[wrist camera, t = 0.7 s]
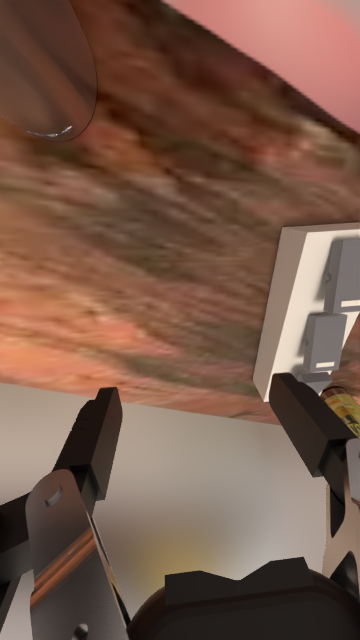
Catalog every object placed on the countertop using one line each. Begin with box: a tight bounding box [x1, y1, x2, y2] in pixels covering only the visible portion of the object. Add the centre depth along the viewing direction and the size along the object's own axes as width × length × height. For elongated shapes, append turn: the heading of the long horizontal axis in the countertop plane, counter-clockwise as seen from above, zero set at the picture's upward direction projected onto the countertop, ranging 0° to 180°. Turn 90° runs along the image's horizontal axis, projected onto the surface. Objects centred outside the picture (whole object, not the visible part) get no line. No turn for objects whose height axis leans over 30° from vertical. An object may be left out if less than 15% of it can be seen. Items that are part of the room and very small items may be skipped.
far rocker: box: [297, 372, 333, 394], centre depth 31 cm, size 8×4×2 cm, turn 2°
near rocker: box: [323, 239, 360, 313], centre depth 22 cm, size 8×4×2 cm, turn 3°
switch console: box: [253, 222, 360, 402], centre depth 30 cm, size 27×10×5 cm, turn 3°
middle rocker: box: [303, 313, 348, 373], centre depth 26 cm, size 8×4×2 cm, turn 3°
